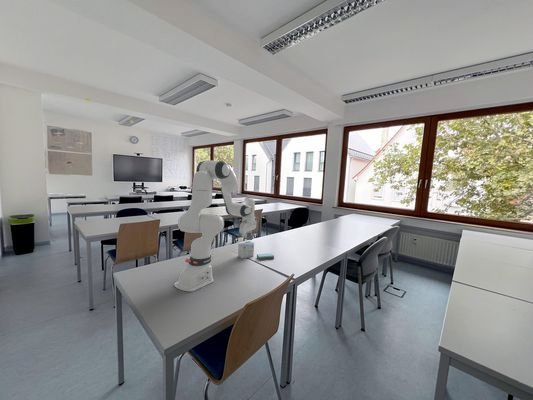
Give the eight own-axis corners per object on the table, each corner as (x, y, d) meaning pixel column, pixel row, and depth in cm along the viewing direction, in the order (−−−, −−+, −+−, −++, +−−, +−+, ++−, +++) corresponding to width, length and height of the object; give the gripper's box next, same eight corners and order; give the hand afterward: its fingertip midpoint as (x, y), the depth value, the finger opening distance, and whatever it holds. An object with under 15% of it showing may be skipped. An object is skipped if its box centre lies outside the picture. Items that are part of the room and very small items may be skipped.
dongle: (253, 239, 170) (253, 234, 170) (251, 240, 167) (251, 235, 167) (243, 237, 174) (243, 232, 173) (241, 238, 171) (241, 233, 170)
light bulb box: (248, 253, 178) (249, 240, 177) (253, 256, 173) (254, 242, 172) (237, 256, 171) (238, 242, 170) (242, 258, 166) (242, 245, 165)
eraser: (258, 260, 165) (259, 256, 165) (256, 258, 170) (257, 254, 170) (273, 259, 169) (274, 255, 169) (271, 257, 174) (271, 253, 174)
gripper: (245, 222, 158) (244, 241, 160) (258, 217, 176) (257, 234, 178) (237, 220, 160) (236, 239, 162) (251, 216, 179) (250, 233, 181)
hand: (247, 236), depth 170 cm, fingers closed on dongle, 3 cm apart
